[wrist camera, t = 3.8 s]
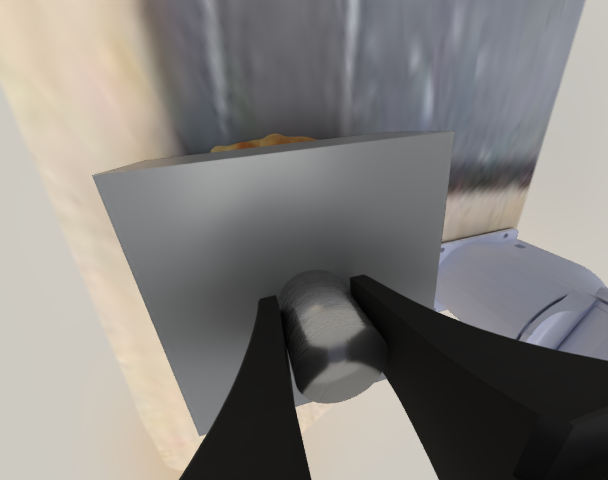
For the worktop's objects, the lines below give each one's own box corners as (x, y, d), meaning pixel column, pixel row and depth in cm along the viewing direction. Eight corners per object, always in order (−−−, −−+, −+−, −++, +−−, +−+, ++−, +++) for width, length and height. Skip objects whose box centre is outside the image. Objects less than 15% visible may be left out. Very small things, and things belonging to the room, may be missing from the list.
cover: (386, 131, 14) (559, 129, 7) (382, 312, 19) (479, 430, 11) (144, 160, 12) (-10, 204, 4) (208, 357, 17) (187, 539, 9)
